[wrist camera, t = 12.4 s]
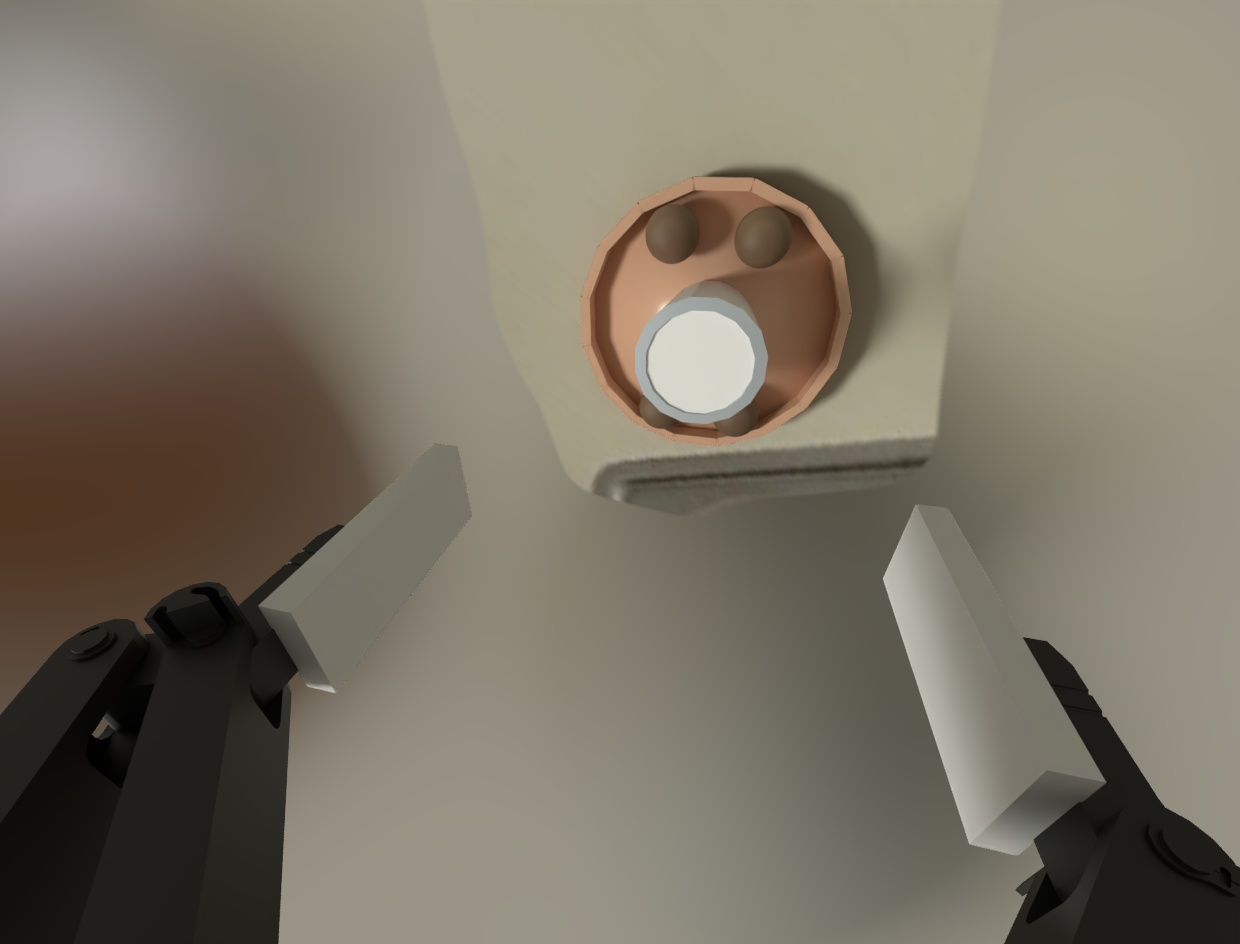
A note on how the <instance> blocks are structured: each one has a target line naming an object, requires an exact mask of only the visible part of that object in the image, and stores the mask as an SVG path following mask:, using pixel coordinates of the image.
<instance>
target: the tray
mask: <svg viewBox="0 0 1240 944" xmlns="http://www.w3.org/2000/svg"><path fill="white" fill-rule="evenodd" d="M668 204H679V205H683V206H685V207H687V208H688V209H689V210H691V211H692V213H693V214H694V215H695V217H696V219H697V221H698V224H699V230H700V235H699V241H698V244H697V247H696V249H695V250H694V252H693V253H692V254H691V255H690V256H689V257H688V258H687V259H686V260H684V261H682V262H680V263H677V264H666V263H663V262H660V261H659V260H657V259H656V258H655V257H654V256H653V255H652V254H651V253H650V251H649V249H648V247H647V244H646V238H645V233H646V227H647V224H648V221H649V219H650V218H651V216H652V215H653V214H654V212H656V211H657V210H658V209H659V208H661V207H663V206H665V205H668ZM765 206H769V207H775V208H777V209H779V210H781V211H782V212H784V213H785V214H786V216H787V217H788V218H789V220H790V223H791V226H792V242H791V245H790V248H789V250H788V251H787V253H786V254H785V256H784V257H783V258H782V259H781V260H780V261H779V262H777V263H776V264H774V265H772V266H770V267H767V268H753V267H750V266H748V265H746V264H745V263H743V262H742V261H741V260H740V258H739V257H738V255H737V253H736V250H735V245H734V238H735V233H736V229H737V227H738V225H739V223H740V222H741V220H742V219H743V218H744V217H745V216H746V215H747V214H748V213H749V212H751V211H752V210H754V209H756V208H759V207H765ZM700 281H722V282H724V283H726V284H728V285H730V286H732V287H734V288H736V289H738V291H739V292H740V293H741V294H742V295H743V297H744V298H745V299H746V300H747V301H748V303H749V305H750V307H751V309H752V311H753V314H754V316H755V318H756V320H757V322H758V325H759V327H760V329H761V332H762V335H763V339H764V343H765V346H766V350H767V354H768V361H767V367H766V373H765V379H764V383H763V384H762V386H761V387H760V389H759V391H758V392H757V394H756V395H755V397H754V398H753V399H754V401H755V402H756V404H757V406H758V411H759V416H758V421H757V423H756V425H755V427H754V428H753V429H752V430H751V431H750V432H749V433H747V434H745V435H743V436H740V437H730V436H726V435H724V434H722V433H721V432H720V431H719V430H718V429H717V428H716V427H715V425H714V423H713V422H712V423H708V424H699V423H688V422H681V421H678V422H677V423H676V424H675V425H673V426H671V427H669V428H665V429H657V428H654V427H651V426H650V425H648V424H647V423H646V422H645V421H644V420H643V418H642V416H641V413H640V400H641V398H642V396H643V391H642V389H641V386H640V384H639V382H638V379H637V377H636V374H635V347H636V345H637V343H638V340H639V338H640V336H641V333H642V331H643V329H644V326H645V325H646V324H647V323H648V322H649V321H650V320H651V319H652V318H653V317H654V316H655V315H656V314H657V313H658V312H659V311H660V310H661V309H662V308H664V307H665V306H666V305H667V304H668V303H669V302H670V301H671V300H672V299H673V298H674V297H675V296H676V295H677V294H679V293H680V292H681V291H682V290H683V289H684V288H685V287H687V286H690V285H692V284H695V283H697V282H700ZM851 316H852V307H851V301H850V294H849V288H848V281H847V275H846V268H845V262H844V256H843V254H842V253H841V251H840V250H839V248H838V247H837V246H836V244H835V243H834V241H833V240H832V238H831V237H830V236H829V234H828V233H827V231H826V230H825V228H824V227H823V226H822V224H821V223H820V221H819V220H818V218H817V217H816V216H815V214H814V213H813V211H812V210H811V208H810V207H809V206H808V205H806V204H804V203H802V202H801V201H799V200H797V199H795V198H793V197H791V196H789V195H787V194H785V193H783V192H782V191H780V190H778V189H776V188H774V187H772V186H770V185H768V184H766V183H764V182H763V181H761V180H759V179H757V178H755V179H754V177H728V176H721V177H708V176H695V177H692V178H689V179H687V180H685V181H683V182H681V183H678V184H676V185H674V186H672V187H669V188H667V189H665V190H663V191H661V192H658V193H656V194H654V195H652V196H650V197H647V198H645V199H643V200H641V201H638V202H637V203H636V204H635V205H634V206H633V207H632V209H631V210H630V211H629V212H628V213H627V214H626V215H625V216H624V217H623V218H622V220H621V221H620V222H619V223H618V224H617V225H616V226H615V227H614V228H613V230H612V231H611V232H610V233H609V234H608V235H607V236H606V237H605V238H604V240H603V241H602V242H601V243H600V244H599V246H598V248H597V251H596V254H595V256H594V259H593V262H592V265H591V268H590V270H589V273H588V276H587V279H586V282H585V285H584V287H583V290H582V293H581V325H582V345H583V349H584V351H585V353H586V356H587V358H588V360H589V363H590V365H591V367H592V370H593V372H594V374H595V377H596V379H597V382H598V384H599V386H600V388H602V389H601V390H602V391H603V392H604V393H605V394H606V395H607V396H608V397H609V398H610V399H611V400H612V401H613V402H614V403H615V404H616V405H617V407H618V408H619V409H620V410H621V411H622V412H623V413H624V414H625V415H626V416H627V417H628V418H629V419H630V420H631V421H632V420H633V421H632V422H634V423H636V424H638V425H640V426H642V427H644V428H646V429H648V430H650V431H652V432H654V433H656V434H658V435H660V436H662V437H664V438H666V439H668V440H671V441H672V439H673V441H675V442H683V443H692V444H701V445H709V446H721V445H726V444H730V443H734V442H739V441H743V440H748V439H752V438H756V437H761V436H763V435H766V434H767V433H769V432H770V431H772V430H773V429H775V428H777V427H778V426H780V425H781V424H783V423H785V422H786V421H788V420H789V419H791V418H792V417H794V416H796V415H797V414H799V413H800V412H802V411H803V410H805V408H807V407H808V405H809V404H810V403H811V401H812V400H813V399H814V397H815V396H816V395H817V393H818V392H819V391H820V390H821V388H822V387H823V386H824V384H825V383H826V382H827V380H828V379H829V378H830V376H831V375H832V374H833V372H834V371H835V370H836V368H837V366H838V364H839V360H840V357H841V353H842V349H843V346H844V342H845V338H846V335H847V331H848V327H849V324H850V320H851Z"/></svg>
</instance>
